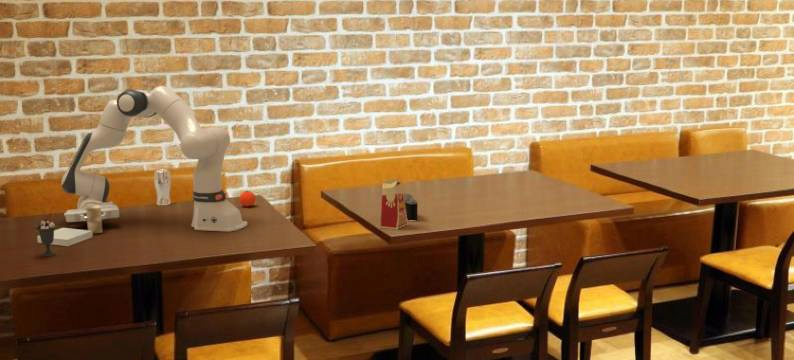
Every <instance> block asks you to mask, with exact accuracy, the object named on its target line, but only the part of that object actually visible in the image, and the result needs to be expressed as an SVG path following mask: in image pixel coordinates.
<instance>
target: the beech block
mask: <svg viewBox="0 0 794 360" xmlns="http://www.w3.org/2000/svg"><path fill="white" fill-rule="evenodd" d="M86 213H87V218H88V221H87V222H86V224H87V226H86V227H87V230H88V231H92V234H93V235H94V234H102V233H103V223H102V222H103V220H102V219H101V207H100V205H93V206H86Z"/></svg>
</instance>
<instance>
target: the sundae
mask: <svg viewBox="0 0 794 360" xmlns="http://www.w3.org/2000/svg"><path fill="white" fill-rule="evenodd" d="M52 214H53V213H52V212H49V214H48V216H51V215H52ZM36 224H37V226H36V227H35V229H36V230H37V231H38V232H39V233H38V234H39V236H40V238H41V241H42V243H41V244H43V245H45V251H44V252H43V253H41V254H40V256H42V257H51V256H52V257H53V256H55V255H56V254H57V253H56V252H54V251H51V248H50V247H51V246H50V245H52V244H51V243H52V242H53V239H54V231H55V230H56V229H55V228H57V226H56V225H55V224H54V222H53V219H52V218H49V217H44V219H42V220H41V221H40V223H38V222H36Z"/></svg>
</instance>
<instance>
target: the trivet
mask: <svg viewBox="0 0 794 360" xmlns="http://www.w3.org/2000/svg"><path fill="white" fill-rule="evenodd" d="M93 235H94V233H93V234H92V231H88V229H77V228H68V227H61V228H58V229H54V239H53V242H52V243H51V244H50V245H54V246H61V247H69V246H72V245H76V244H78V243H82V242H83V241H86V240H88V239H92V238H93ZM36 237H37V243H38V244H43V243H42V241H41V238H40V235H37V236H36Z"/></svg>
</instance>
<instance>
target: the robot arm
mask: <svg viewBox="0 0 794 360" xmlns="http://www.w3.org/2000/svg"><path fill="white" fill-rule="evenodd" d="M155 115H158V116H159V117H160V118H161V119H162V120H163V121H164V122H165V123H166V124H167V126H169V127H170V128H171V129H172V131H174V133H175V134H176V136H177V138H178V139H179V141H180V150H181V152H182V154H183V156H185V157H186V158H188V159H191V160H197V163H196V166H195V168H194V169H193V172H192V173H193V191H192V199H193V200H192V201H193V214H192V221H191V224H190V225H191V227H192V228H194V229H193V230H195V231H206V232H207V231H209V232H210V231H211V232H212V231H213V232H233V231H234V232H235V231H239V230H242V229H243V228H246V227H247V226H248V221H245V220H243V217H242V214H241V211H240V209H239V208H238V207H236V206H234V204H232V203H231V202H230V201H229V200H227V196H228V195H229V194H228V193H229V192H224V190H223V180H222V175H223V174H222V172H223V164H224V159H225V155H226V153H227V152H226V151H227V150H228V148H229V146H230V143H231V136H230V133H229V132H228V130H226V129H225V128H223V127H220V126H219V127H217V126H210V127H207V128H203V127H202V126H201V125H200V123H199V122H198V120H197V114H196V111H194V110H193V108H191V107H190V105H188V103H187V102H186V101H184V99H182V98H181V97H180V96H179V95H178V94H177V93H176V92H174V91H173V90H172V89H170V88H169V87H167V86H165V85H159V86H157V87H155V88H153V89H152V90H151V91H148V90H142V89H127V90H124V91H122V92H121V93H120V94H119V95H118V97H117V98H116V99H111V100H109V101H108V102H107V104H105V107H104V109H103V111H102V114H101V117H100V119H99V122H98V125H97V126H96V128H95V129H94V130H93V131H92V132H89V133H87V134H86V135H85V137H84V138H83V140H82V142H81V144H80V146H79V147H78V149H77V151H76V153H75V154H74V156H73V159H72V161H71V163H70V165H69V166H68V168H67V170H66V172H65V173H64V174H63V176H62V178H61V182H60V183H61V185H60V186H61V188H62V189H63V191H64V192H65V193H66V194H70V195H76V196H77V195H79V196H80V197H79V198H78V200H77V204H76V206H77V208H76V209H67V210H66V211H65V212H64V213H63V216H64V217H65V221H66V222H67V223H76V222H78V223H79V222H86V223H87V221H88V218H87V213H86V206H93V205H100V207H101V219H102V221H103V220H106V219H107V220H108V219H117V218H120V209H119V206H118V205H116V204H114V202H113V201H108V200H107V199H108V197H109V195H110V194H109V193H110V183H109V179H108V178H107V177H106V176H103V175H99V174H96V173H90V172H88V171H87V172H86V171H82V170H81V168H82V167H83V164H84V163H85V160H86V159H87V156H88V155H89V154H90V153H91V152H93V151H95V150H101V149H110V148H115V147H117V146H119V145H120V144H122V143H123V140H124V138H125V137H126V133H127V130H128V127H129V123H130V121H131V119H132V118H138V119H139V118H141V119H143V118H152V117H155Z"/></svg>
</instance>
